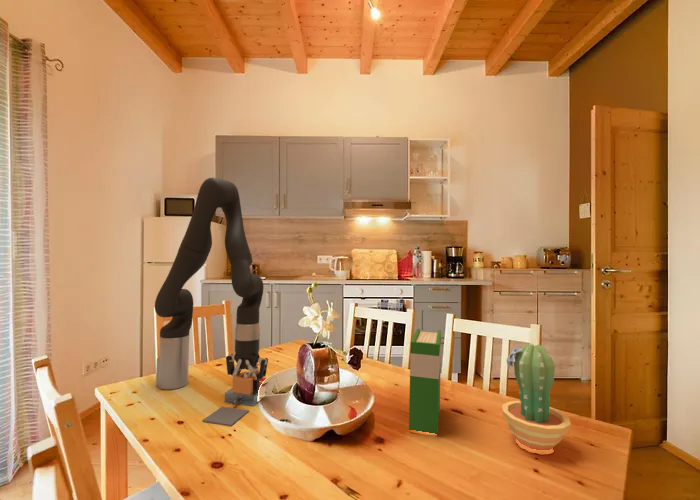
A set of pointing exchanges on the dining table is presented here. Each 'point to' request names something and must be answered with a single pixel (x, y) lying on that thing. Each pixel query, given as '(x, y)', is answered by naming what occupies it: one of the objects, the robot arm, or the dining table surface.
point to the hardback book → (425, 381)
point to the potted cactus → (534, 400)
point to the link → (242, 384)
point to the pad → (225, 416)
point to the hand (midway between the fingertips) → (246, 389)
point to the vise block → (241, 396)
